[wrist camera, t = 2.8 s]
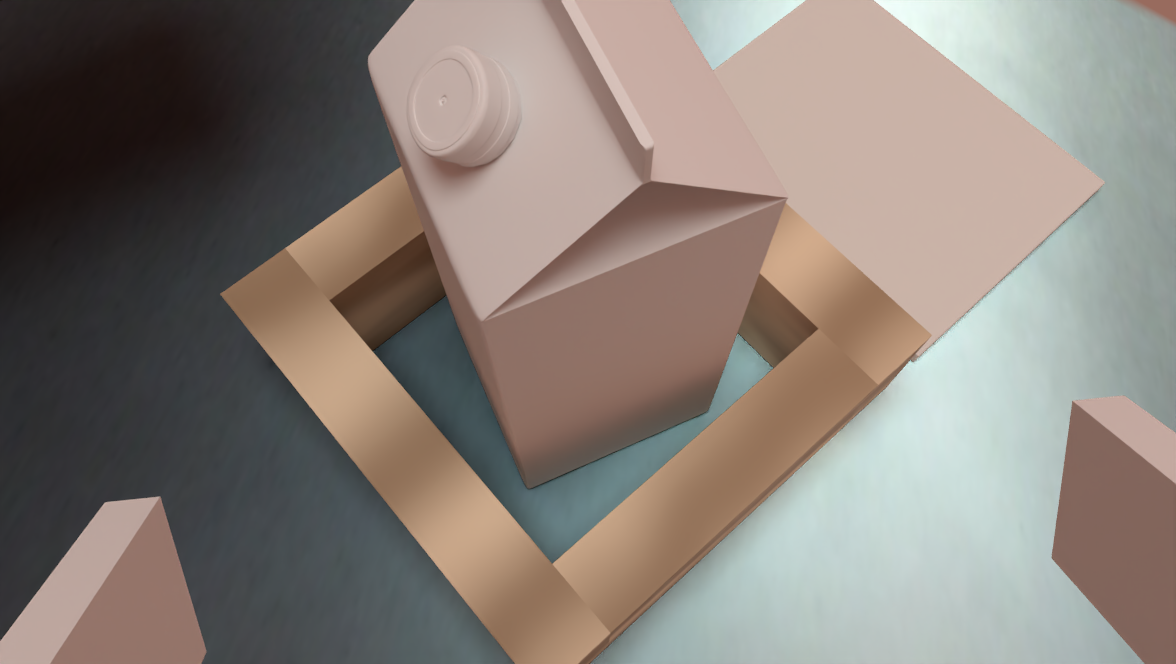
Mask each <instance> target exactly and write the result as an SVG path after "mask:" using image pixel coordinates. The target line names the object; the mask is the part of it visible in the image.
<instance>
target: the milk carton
mask: <svg viewBox="0 0 1176 664" xmlns="http://www.w3.org/2000/svg"><path fill="white" fill-rule="evenodd" d="M368 68H369V72H370V76H371V79H372V83H373V86H374V89H375V92H376V95H377V97H378V100H379V103H380V106H381V109H382V112H383V115H384V118H385V121H386V124H387V126H388V129H389V132H390V135H391V138H392V141H393V144H394V146H395V149H396V152H397V155H398V158H399V161H400V164H401V166H402V169H403V172H404V175H405V178H406V181H407V184H408V186H409V189H410V192H411V195H412V198H413V201H414V204H415V206H416V209H417V212H418V215H419V218H420V221H421V224H422V226H423V229H424V232H425V235H426V238H427V241H428V244H429V246H430V249H431V252H432V255H433V258H434V261H435V264H436V266H437V269H438V272H439V275H440V278H441V281H442V284H443V286H444V289H445V292H446V295H447V298H448V301H449V304H450V306H451V309H452V312H453V315H454V318H455V321H456V324H457V326H458V329H459V331H460V334H461V336H462V339H463V341H464V343H465V346H466V348H467V351H468V353H469V355H470V358H471V360H472V362H473V365H474V367H475V369H476V372H477V374H478V376H479V379H480V381H481V384H482V386H483V388H484V391H485V393H486V395H487V398H488V400H489V402H490V405H491V407H492V409H493V412H494V414H495V417H496V419H497V421H498V424H499V426H500V428H501V431H502V433H503V435H504V438H505V440H506V442H507V445H508V447H509V450H510V452H511V454H512V457H513V459H514V461H515V464H516V466H517V468H518V471H519V473H520V475H521V477H522V480H523V482H524V484H525V485H526V487H527V488H529V489H530V488H533V487H535V486H537V485H540V484H542V483H544V482H547V481H549V480H551V479H554V478H556V477H558V476H560V475H563V474H565V473H567V472H570V471H572V470H574V469H576V468H579V467H581V466H583V465H586V464H588V463H590V462H592V461H595V460H597V459H599V458H602V457H604V456H606V455H609V454H611V453H613V452H615V451H618V450H620V449H622V448H625V447H627V446H629V445H631V444H634V443H636V442H638V441H641V440H643V439H645V438H647V437H650V436H652V435H654V434H657V433H659V432H661V431H664V430H666V429H668V428H670V427H673V426H675V425H677V424H680V423H682V422H684V421H686V420H689V419H691V418H693V417H696V416H698V415H700V414H702V413H705V412H707V411H708V410H709V408H710V405H711V402H712V400H713V397H714V394H715V392H716V389H717V386H718V384H719V381H720V378H721V375H722V373H723V370H724V367H725V365H726V362H727V359H728V357H729V354H730V351H731V349H732V346H733V343H734V340H735V338H736V335H737V332H738V330H739V327H740V324H741V322H742V319H743V316H744V313H745V311H746V308H747V305H748V303H749V300H750V297H751V295H752V292H753V289H754V287H755V284H756V281H757V278H758V276H759V273H760V270H761V268H762V265H763V262H764V260H765V257H766V254H767V251H768V249H769V246H770V243H771V241H772V238H773V235H774V233H775V230H776V227H777V224H778V222H779V219H780V216H781V214H782V211H783V208H784V206H785V203H786V200H787V199H788V198H789V197H788V195H787V193H786V191H785V189H784V187H783V185H782V184H781V182H780V180H779V179H778V177H777V175H776V174H775V172H774V170H773V169H772V167H771V165H770V164H769V162H768V160H767V159H766V157H765V155H764V154H763V152H762V151H761V149H760V147H759V146H758V144H757V142H756V141H755V139H754V137H753V136H752V134H751V133H750V131H749V129H748V128H747V126H746V124H745V123H744V121H743V119H742V118H741V116H740V115H739V113H738V111H737V110H736V108H735V106H734V105H733V103H732V101H731V100H730V98H729V96H728V95H727V93H726V92H725V90H724V88H723V87H722V85H721V83H720V82H719V80H718V78H717V77H716V75H715V74H714V72H713V70H712V69H711V67H710V65H709V64H708V62H707V60H706V59H705V57H704V56H703V54H702V52H701V51H700V49H699V47H698V46H697V44H696V42H695V41H694V39H693V38H692V36H691V34H690V33H689V31H688V29H687V28H686V26H685V24H684V23H683V21H682V20H681V18H680V16H679V15H678V13H677V11H676V10H675V8H674V6H673V5H672V3H671V2H670V0H415V1H414V2H413V3H412V4H411V5H410V7H409V8H408V9H407V10H406V11H405V12H404V14H403V15H402V16H401V17H400V18H399V20H398V21H397V22H396V23H395V24H394V26H393V27H392V28H391V29H390V30H389V31H388V33H387V34H386V35H385V36H384V37H383V39H382V40H381V41H380V42H379V43H378V45H377V46H376V47H375V48H374V50H373V51H372V52H371V54H370V55H369V56H368Z"/></svg>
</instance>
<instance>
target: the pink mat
mask: <svg viewBox="0 0 1176 664" xmlns="http://www.w3.org/2000/svg"><path fill="white" fill-rule="evenodd" d="M713 72H714V74H715V75H716V77H717V78H718V80H719V82H720V83H721V85H722V87H723V88H724V90H725V92H726V93H727V95H728V96H729V98H730V100H731V101H732V103H733V105H734V106H735V108H736V110H737V111H738V113H739V115H740V116H741V118H742V119H743V121H744V123H745V124H746V126H747V128H748V129H749V131H750V133H751V134H752V136H753V137H754V139H755V141H756V142H757V144H758V146H759V147H760V149H761V151H762V152H763V154H764V155H765V157H766V159H767V160H768V162H769V164H770V165H771V167H772V169H773V170H774V172H775V174H776V175H777V177H778V179H779V180H780V182H781V184H782V185H783V187H784V189H785V191H786V193H787V195H788V197H789V198H788V199H787V200H786V204H787V205H789V206H790V207H791V208H792V209H793V210H794V211H795V212H796V213H797V214H799V215H800V216H801V217H802V218H803V219H804V220H805V221H806V222H807V223H809V224H810V225H811V226H812V227H813V228H814V229H815V230H816V231H817V232H818V233H820V234H821V235H822V236H823V237H824V238H825V239H826V240H827V241H828V242H830V243H831V244H832V245H833V246H834V247H835V248H836V249H837V250H838V251H840V252H841V253H842V254H843V255H844V256H845V257H846V258H847V259H848V260H849V261H851V262H852V263H853V264H854V265H855V266H856V267H857V268H858V269H859V270H861V271H862V272H863V273H864V274H865V275H866V276H867V277H868V278H869V279H870V280H872V281H873V282H874V283H875V284H876V285H877V286H878V287H879V288H880V289H882V290H883V291H884V292H885V293H886V294H887V295H888V296H889V297H890V298H892V299H893V300H894V301H895V302H896V303H897V304H898V305H899V306H900V307H901V308H903V309H904V310H905V311H906V312H907V313H908V314H909V315H910V316H911V317H913V318H914V319H915V320H916V321H917V322H918V323H919V324H920V325H921V326H923V327H924V328H925V329H926V330H927V331H928V332H929V333H930V334H931V335H932V336H931V337H930V338H929V339H928V340H927V342H926V343H925V344H924V345H923V346H922V347H921V348H920V350H919V351H918V352H917V353H916V354H915V355H914V356H913V357H912V359H911V360H912V361H913V362H914V361H915V360H916V359H917V358H918V357H919V356H920V355H922V354H923V353H924V352H925V351H926V350H927V349H928V348H929V347H930V346H931V345H932V344H933V343H934V342H936V341H937V340H938V339H939V338H940V337H941V336H942V335H943V334H944V333H945V332H946V331H947V330H948V329H949V328H951V327H952V326H953V325H954V324H955V323H956V322H957V321H958V320H959V319H960V318H961V317H962V316H963V315H965V314H966V313H967V312H968V311H969V310H970V309H971V308H972V307H973V306H974V305H975V304H976V303H977V302H978V301H980V300H981V299H982V298H983V297H984V296H985V295H986V294H987V293H988V292H989V291H990V290H991V289H992V288H994V287H995V286H996V285H997V284H998V283H999V282H1000V281H1001V280H1002V279H1003V278H1004V277H1005V276H1006V275H1008V274H1009V273H1010V272H1011V271H1012V270H1013V269H1014V268H1015V267H1016V266H1017V265H1018V264H1019V263H1020V262H1021V261H1023V260H1024V259H1025V258H1026V257H1027V256H1028V255H1029V254H1030V253H1031V252H1032V251H1033V250H1034V249H1035V248H1037V247H1038V246H1039V245H1040V244H1041V243H1042V242H1043V241H1044V240H1045V239H1046V238H1047V237H1048V236H1049V235H1050V234H1052V233H1053V232H1054V231H1055V230H1056V229H1057V228H1058V227H1059V226H1060V225H1061V224H1062V223H1063V222H1064V221H1066V220H1067V219H1068V218H1069V217H1070V216H1071V215H1072V214H1073V213H1074V212H1075V211H1076V210H1077V209H1078V208H1080V207H1081V206H1082V205H1083V204H1084V203H1085V202H1086V201H1087V200H1088V199H1089V198H1090V197H1091V196H1092V195H1093V194H1095V193H1096V192H1097V191H1098V190H1099V189H1100V188H1101V187H1102V186H1103V184H1104V183H1105V182H1104V181H1103V180H1102V179H1100V178H1099V177H1098V176H1097V175H1095V174H1094V173H1093V172H1091V171H1090V170H1089V169H1088V168H1086V167H1085V166H1084V165H1083V164H1081V163H1080V162H1079V161H1077V160H1076V159H1075V158H1074V157H1072V156H1071V155H1070V154H1069V153H1067V152H1066V151H1065V150H1063V149H1062V148H1061V147H1060V146H1058V145H1057V144H1056V143H1055V142H1053V141H1052V140H1051V139H1049V138H1048V137H1047V136H1046V135H1044V134H1043V133H1042V132H1040V131H1039V130H1038V129H1037V128H1035V127H1034V126H1033V125H1032V124H1030V123H1029V122H1028V121H1026V120H1025V119H1024V118H1023V117H1021V116H1020V115H1019V114H1018V113H1016V112H1015V111H1014V110H1012V109H1011V108H1010V107H1009V106H1007V105H1006V104H1005V103H1004V102H1002V101H1001V100H1000V99H998V98H997V97H996V96H995V95H993V94H992V93H991V92H990V91H988V90H987V89H986V88H984V87H983V86H982V85H981V84H979V83H978V82H977V81H975V80H974V79H973V78H972V77H970V76H969V75H968V74H967V73H965V72H964V71H963V70H961V69H960V68H959V67H958V66H956V65H955V64H954V63H953V62H951V61H950V60H949V59H947V58H946V57H945V56H944V55H942V54H941V53H940V52H939V51H937V50H936V49H935V48H933V47H932V46H931V45H930V44H928V43H927V42H926V41H925V40H923V39H922V38H921V37H919V36H918V35H917V34H916V33H914V32H913V31H912V30H911V29H909V28H908V27H907V26H905V25H904V24H903V23H902V22H900V21H899V20H898V19H896V18H895V17H894V16H893V15H891V14H890V13H889V12H888V11H886V10H885V9H884V8H882V7H881V6H880V5H879V4H877V3H876V2H875V1H874V0H806V1H805V2H803V3H802V4H801V5H799V6H798V7H797V8H795V9H794V10H793V11H791V12H790V13H789V14H787V15H786V16H785V17H783V18H782V19H781V20H780V21H778V22H777V23H776V24H774V25H773V26H772V27H770V28H769V29H768V30H766V31H765V32H764V33H762V34H761V35H760V36H758V37H757V38H756V39H754V40H753V41H752V42H750V43H749V44H748V45H746V46H745V47H744V48H742V49H741V50H740V51H738V52H737V53H736V54H734V55H733V56H732V57H730V58H729V59H728V60H726V61H725V62H724V63H722V64H721V65H720V66H718V67H717V68H716V69H714V70H713Z"/></svg>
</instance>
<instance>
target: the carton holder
mask: <svg viewBox="0 0 1176 664" xmlns="http://www.w3.org/2000/svg"><path fill="white" fill-rule="evenodd" d="M220 295H221V296H222V297H223V298H224V300H225V301H226V302H227V303H228V305H229V306H230V307H231V308H232V310H233V311H234V312H235V313H236V315H237V316H238V317H239V318H240V320H241V321H242V322H243V323H244V325H245V326H246V327H247V328H248V330H249V331H250V332H251V333H252V335H253V336H254V337H255V338H256V340H257V341H258V342H259V343H260V345H261V346H262V347H263V348H264V350H265V351H266V352H267V353H268V355H269V356H270V357H271V358H272V360H273V361H274V362H275V363H276V365H277V366H278V367H279V368H280V370H281V371H282V372H283V373H284V375H285V376H286V377H287V378H288V380H289V381H290V382H291V383H292V385H293V386H294V387H295V388H296V390H297V391H298V392H299V394H300V395H301V396H302V397H303V399H304V400H305V401H306V402H307V404H308V405H309V406H310V407H311V409H312V410H313V411H314V412H315V414H316V415H317V416H318V417H319V419H320V420H321V421H322V422H323V424H324V425H325V426H326V427H327V429H328V430H329V431H330V432H331V434H332V435H333V436H334V437H335V439H336V440H337V441H338V442H339V444H340V445H341V446H342V447H343V449H344V450H345V451H346V452H347V454H348V455H349V456H350V457H351V459H352V460H353V461H354V462H355V464H356V465H357V466H358V467H359V469H360V470H361V471H362V472H363V474H364V475H365V476H366V477H367V479H368V480H369V481H370V482H371V484H372V485H373V486H374V487H375V489H376V490H377V491H378V493H379V494H380V495H381V496H382V498H383V499H384V500H385V501H386V503H387V504H388V505H389V506H390V508H391V509H392V510H393V511H394V513H395V514H396V515H397V516H398V518H399V519H400V520H401V521H402V523H403V524H404V525H405V526H406V528H407V529H408V530H409V531H410V533H411V534H412V535H413V536H414V538H415V539H416V540H417V541H418V543H419V544H420V545H421V546H422V548H423V549H424V550H425V551H426V553H427V554H428V555H429V556H430V558H431V559H432V560H433V561H434V563H435V564H436V565H437V566H438V568H439V569H440V570H441V571H442V573H443V574H444V575H445V576H446V578H447V579H448V580H449V581H450V583H451V584H452V585H453V586H454V588H455V589H456V590H457V592H458V593H459V594H460V595H461V597H462V598H463V599H464V600H465V602H466V603H467V604H468V605H469V607H470V608H471V609H472V610H473V612H474V613H475V614H476V615H477V617H478V618H479V619H480V620H481V622H482V623H483V624H484V625H485V627H486V628H487V629H488V630H489V632H490V633H491V634H492V635H493V637H494V638H495V639H496V640H497V642H498V643H499V644H500V645H501V647H502V648H503V649H504V650H505V652H506V653H507V654H508V655H509V657H510V658H511V659H512V660H513V662H514V663H515V664H589V663H591V662H592V661H593V660H594V659H595V658H596V657H597V656H598V655H599V654H600V653H601V652H602V651H603V650H605V649H606V648H607V647H608V646H609V645H610V644H611V643H612V642H613V641H614V640H615V639H616V638H617V637H618V636H620V635H621V634H622V633H623V632H624V631H625V630H626V629H627V628H628V627H629V626H630V625H631V624H632V623H634V622H635V621H636V620H637V619H638V618H639V617H640V616H641V615H642V614H643V613H644V612H645V611H646V610H647V609H649V608H650V607H651V606H652V605H653V604H654V603H655V602H656V601H657V600H658V599H659V598H660V597H661V596H663V595H664V594H665V593H666V592H667V591H668V590H669V589H670V588H671V587H672V586H673V585H674V584H675V583H677V582H678V581H679V580H680V579H681V578H682V577H683V576H684V575H685V574H686V573H687V572H688V571H689V570H690V569H692V568H693V567H694V566H695V565H696V564H697V563H698V562H699V561H700V560H701V559H702V558H703V557H704V556H706V555H707V554H708V553H709V552H710V551H711V550H712V549H713V548H714V547H715V546H716V545H717V544H718V543H719V542H721V541H722V540H723V539H724V538H725V537H726V536H727V535H728V534H729V533H730V532H731V531H732V530H733V529H735V528H736V527H737V526H738V525H739V524H740V523H741V522H742V521H743V520H744V519H745V518H746V517H747V516H749V515H750V514H751V513H752V512H753V511H754V510H755V509H756V508H757V507H758V506H759V505H760V504H761V503H762V502H764V501H765V500H766V499H767V498H768V497H769V496H770V495H771V494H772V493H773V492H774V491H775V490H776V489H778V488H779V487H780V486H781V485H782V484H783V483H784V482H785V481H786V480H787V479H788V478H789V477H790V476H791V475H793V474H794V473H795V472H796V471H797V470H798V469H799V468H800V467H801V466H802V465H803V464H804V463H805V462H807V461H808V460H809V459H810V458H811V457H812V456H813V455H814V454H815V453H816V452H817V451H818V450H819V449H821V448H822V447H823V446H824V445H825V444H826V443H827V442H828V441H829V440H830V439H831V438H832V437H833V436H834V435H836V434H837V433H838V432H839V431H840V430H841V429H842V428H843V427H844V426H845V425H846V424H847V423H848V422H850V421H851V420H852V419H853V418H854V417H855V416H856V415H857V414H858V413H859V412H860V411H861V410H862V409H864V408H865V407H866V406H867V405H868V404H869V403H870V402H871V401H872V400H873V399H874V398H875V397H876V396H877V395H879V394H880V393H881V392H882V391H883V390H884V389H885V388H886V387H887V386H888V385H889V384H890V382H891V381H892V380H893V379H894V378H895V377H896V376H897V374H898V373H899V372H900V371H901V370H902V369H903V368H904V367H905V365H906V364H907V363H908V362H909V361H910V360H911V359H912V357H913V356H914V355H915V354H916V353H917V352H918V351H919V350H920V348H921V347H922V346H923V345H924V344H925V343H926V342H927V340H928V339H929V338H930V337H931V336H932V335H931V334H930V333H929V332H928V331H927V330H926V329H925V328H924V327H923V326H921V325H920V324H919V323H918V322H917V321H916V320H915V319H914V318H913V317H911V316H910V315H909V314H908V313H907V312H906V311H905V310H904V309H903V308H901V307H900V306H899V305H898V304H897V303H896V302H895V301H894V300H893V299H892V298H890V297H889V296H888V295H887V294H886V293H885V292H884V291H883V290H882V289H880V288H879V287H878V286H877V285H876V284H875V283H874V282H873V281H872V280H870V279H869V278H868V277H867V276H866V275H865V274H864V273H863V272H862V271H861V270H859V269H858V268H857V267H856V266H855V265H854V264H853V263H852V262H851V261H849V260H848V259H847V258H846V257H845V256H844V255H843V254H842V253H841V252H840V251H838V250H837V249H836V248H835V247H834V246H833V245H832V244H831V243H830V242H828V241H827V240H826V239H825V238H824V237H823V236H822V235H821V234H820V233H818V232H817V231H816V230H815V229H814V228H813V227H812V226H811V225H810V224H809V223H807V222H806V221H805V220H804V219H803V218H802V217H801V216H800V215H799V214H797V213H796V212H795V211H794V210H793V209H792V208H791V207H790V206H789V205H787V204H786V203H785V206H784V208H783V211H782V214H781V216H780V219H779V222H778V224H777V227H776V230H775V233H774V235H773V238H772V241H771V243H770V246H769V249H768V251H767V254H766V257H765V260H764V262H763V265H762V268H761V270H760V273H759V276H758V278H757V281H756V284H755V287H754V289H753V292H752V295H751V297H750V300H749V303H748V305H747V308H746V311H745V313H744V316H743V319H742V322H741V324H740V327H739V330H738V333H739V334H740V335H741V336H742V337H743V338H744V339H745V340H746V341H747V342H748V343H749V344H750V345H751V346H752V347H753V348H754V349H755V350H756V351H757V352H758V353H759V354H760V355H761V356H762V357H763V358H764V359H765V360H766V361H767V362H768V363H769V364H770V365H771V366H772V367H773V368H774V369H772V370H771V371H770V372H769V373H768V374H767V375H766V376H764V377H763V378H762V379H761V380H760V381H759V382H758V383H757V384H755V385H754V386H753V387H752V388H751V389H750V390H749V391H747V392H746V393H745V394H744V395H743V396H742V397H741V398H740V399H738V400H737V401H736V402H735V403H734V404H733V405H732V406H730V407H729V408H728V409H727V410H726V411H725V412H724V413H723V414H721V415H720V416H719V417H718V418H717V419H716V420H715V421H714V422H712V423H711V424H710V425H709V426H708V427H707V428H706V429H704V430H703V431H702V432H701V433H700V434H699V435H698V436H697V437H695V438H694V439H693V440H692V441H691V442H690V443H689V444H687V445H686V446H685V447H684V448H683V449H682V450H681V451H680V452H678V453H677V454H676V455H675V456H674V457H673V458H672V459H670V460H669V461H668V462H667V463H666V464H665V465H664V466H663V467H661V468H660V469H659V470H658V471H657V472H656V473H655V474H654V475H652V476H651V477H650V478H649V479H648V480H647V481H646V482H644V483H643V484H642V485H641V486H640V487H639V488H638V489H637V490H635V491H634V492H633V493H632V494H631V495H630V496H629V497H627V498H626V499H625V500H624V501H623V502H622V503H621V504H620V505H618V506H617V507H616V508H615V509H614V510H613V511H612V512H610V513H609V514H608V515H607V516H606V517H605V518H604V519H603V520H601V521H600V522H599V523H598V524H597V525H596V526H595V527H594V528H592V529H591V530H590V531H589V532H588V533H587V534H586V535H584V536H583V537H582V538H581V539H580V540H579V541H578V542H577V543H575V544H574V545H573V546H572V547H571V548H570V549H569V550H567V551H566V552H565V553H564V554H563V555H562V556H561V557H560V558H558V559H557V560H556V561H555V562H554V563H553V564H552V563H551V562H550V561H549V560H548V558H547V557H546V556H545V555H544V554H543V553H542V551H541V550H540V549H539V548H538V547H537V545H536V544H535V543H534V542H533V541H532V540H531V538H530V537H529V536H528V535H527V534H526V532H525V531H524V530H523V529H522V528H521V527H520V525H519V524H518V523H517V522H516V521H515V519H514V518H513V517H512V516H511V515H510V514H509V512H508V511H507V510H506V509H505V508H504V506H503V505H502V504H501V503H500V502H499V501H498V499H497V498H496V497H495V496H494V495H493V493H492V492H491V491H490V490H489V489H488V487H487V486H486V485H485V484H484V483H483V482H482V480H481V479H480V478H479V477H478V476H477V474H476V473H475V472H474V471H473V470H472V469H471V467H470V466H469V465H468V464H467V463H466V461H465V460H464V459H463V458H462V457H461V456H460V454H459V453H458V452H457V451H456V450H455V448H454V447H453V446H452V445H451V444H450V443H449V441H448V440H447V439H446V438H445V437H444V435H443V434H442V433H441V432H440V431H439V430H438V428H437V427H436V426H435V425H434V424H433V422H432V421H431V420H430V419H429V418H428V417H427V415H426V414H425V413H424V412H423V411H422V409H421V408H420V407H419V406H418V405H417V404H416V402H415V401H414V400H413V399H412V398H411V396H410V395H409V394H408V393H407V392H406V391H405V389H404V388H403V387H402V386H401V385H400V383H399V382H398V381H397V380H396V379H395V378H394V376H393V375H392V374H391V373H390V372H389V370H388V369H387V368H386V367H385V366H384V365H383V363H382V362H381V361H380V360H379V359H378V357H377V356H376V355H375V354H374V353H373V352H372V351H373V350H374V349H376V348H377V347H378V346H380V345H381V344H382V343H384V342H385V341H386V340H388V339H389V338H390V337H391V336H393V335H394V334H395V333H397V332H398V331H399V330H401V329H402V328H403V327H405V326H406V325H407V324H409V323H410V322H411V321H413V320H414V319H415V318H416V317H418V316H419V315H420V314H422V313H423V312H424V311H426V310H427V309H428V308H430V307H431V306H432V305H434V304H435V303H436V302H438V301H439V300H440V299H441V298H443V297H444V296H445V295H446V292H445V289H444V286H443V284H442V281H441V278H440V275H439V272H438V269H437V266H436V264H435V261H434V258H433V255H432V252H431V249H430V246H429V244H428V241H427V238H426V235H425V232H424V229H423V226H422V224H421V221H420V218H419V215H418V212H417V209H416V206H415V204H414V201H413V198H412V195H411V192H410V189H409V186H408V184H407V181H406V178H405V175H404V172H403V169H402V166H401V167H400V168H398V169H397V170H395V171H394V172H393V173H391V174H390V175H388V176H387V177H385V178H384V179H383V180H381V181H380V182H378V183H377V184H376V185H374V186H373V187H371V188H370V189H368V190H367V191H366V192H364V193H363V194H361V195H360V196H359V197H357V198H356V199H354V200H353V201H351V202H350V203H349V204H347V205H346V206H344V207H343V208H342V209H340V210H339V211H337V212H336V213H334V214H333V215H332V216H330V217H329V218H327V219H326V220H325V221H323V222H322V223H320V224H319V225H317V226H316V227H315V228H313V229H312V230H310V231H309V232H308V233H306V234H305V235H303V236H302V237H300V238H299V239H298V240H296V241H295V242H293V243H292V244H291V245H289V246H288V247H286V248H285V249H283V250H282V251H281V252H279V253H278V254H276V255H275V256H274V257H272V258H271V259H269V260H268V261H266V262H265V263H264V264H262V265H261V266H259V267H258V268H257V269H255V270H254V271H252V272H251V273H249V274H248V275H247V276H245V277H244V278H242V279H241V280H239V281H238V282H237V283H235V284H234V285H232V286H231V287H230V288H228V289H227V290H225V291H224V292H222V293H221V294H220Z"/></svg>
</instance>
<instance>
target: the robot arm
mask: <svg viewBox="0 0 1176 664" xmlns="http://www.w3.org/2000/svg"><path fill="white" fill-rule="evenodd" d="M0 1H1V0H0ZM1052 559H1053V560H1054V561H1055V562H1056V564H1057V565H1058V566H1059V567H1060V568H1061V569H1062V570H1063V572H1064V573H1065V574H1066V575H1067V576H1068V577H1069V578H1070V579H1071V581H1072V582H1073V583H1074V584H1075V585H1076V586H1077V587H1078V588H1079V590H1080V591H1081V592H1082V593H1083V594H1084V595H1085V596H1086V598H1087V599H1088V600H1089V601H1090V602H1091V603H1092V604H1093V605H1094V607H1095V608H1096V609H1097V610H1098V611H1099V612H1100V613H1101V615H1102V616H1103V617H1104V618H1105V619H1106V620H1107V621H1108V622H1109V624H1110V625H1111V626H1112V627H1113V628H1114V629H1115V630H1116V631H1117V633H1118V634H1119V635H1120V636H1121V637H1122V638H1123V639H1124V641H1125V642H1126V643H1127V644H1128V645H1129V646H1130V647H1131V648H1132V650H1133V651H1134V652H1135V653H1136V654H1137V655H1138V656H1139V657H1140V659H1141V660H1142V661H1143V662H1144V663H1145V664H1176V433H1175V432H1173V431H1172V430H1171V429H1169V428H1168V427H1167V426H1165V425H1164V424H1162V423H1161V422H1160V421H1158V420H1157V419H1156V418H1154V417H1153V416H1151V415H1150V414H1149V413H1147V412H1146V411H1145V410H1143V409H1142V408H1140V407H1139V406H1138V405H1136V404H1135V403H1134V402H1132V401H1131V400H1129V399H1128V398H1127V397H1125V396H1114V397H1105V398H1095V399H1085V400H1076V401H1073V402H1072V409H1071V416H1070V424H1069V431H1068V439H1067V446H1066V454H1065V461H1064V469H1063V476H1062V484H1061V491H1060V499H1059V506H1058V514H1057V521H1056V529H1055V536H1054V544H1053V551H1052ZM205 654H206V648H205V645H204V642H203V638H202V635H201V632H200V628H199V625H198V622H197V618H196V615H195V612H194V608H193V605H192V601H191V598H190V595H189V591H188V588H187V585H186V581H185V578H184V575H183V571H182V568H181V565H180V561H179V558H178V555H177V551H176V548H175V545H174V541H173V538H172V534H171V531H170V528H169V524H168V521H167V518H166V514H165V511H164V508H163V504H162V501H161V498H160V497H151V498H142V499H132V500H123V501H113V502H105V503H104V504H103V506H102V507H101V508H100V510H99V511H98V512H97V514H96V515H95V516H94V518H93V519H92V520H91V522H90V523H89V524H88V526H87V527H86V528H85V530H84V531H83V532H82V534H81V535H80V536H79V538H78V539H77V540H76V541H75V543H74V544H73V545H72V547H71V548H70V549H69V551H68V552H67V553H66V555H65V556H64V557H63V559H62V560H61V561H60V563H59V564H58V565H57V567H56V568H55V569H54V571H53V572H52V573H51V575H50V576H49V577H48V579H47V580H46V581H45V583H44V584H43V585H42V587H41V588H40V589H39V591H38V592H37V593H36V595H35V596H34V597H33V599H32V600H31V601H30V603H29V604H28V605H27V607H26V608H25V609H24V611H23V612H22V613H21V614H20V616H19V617H18V618H17V620H16V621H15V622H14V624H13V625H12V626H11V628H10V629H9V630H8V632H7V633H6V634H5V636H4V637H3V638H2V640H1V641H0V664H201V663H202V661H203V658H204V656H205Z"/></svg>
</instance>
